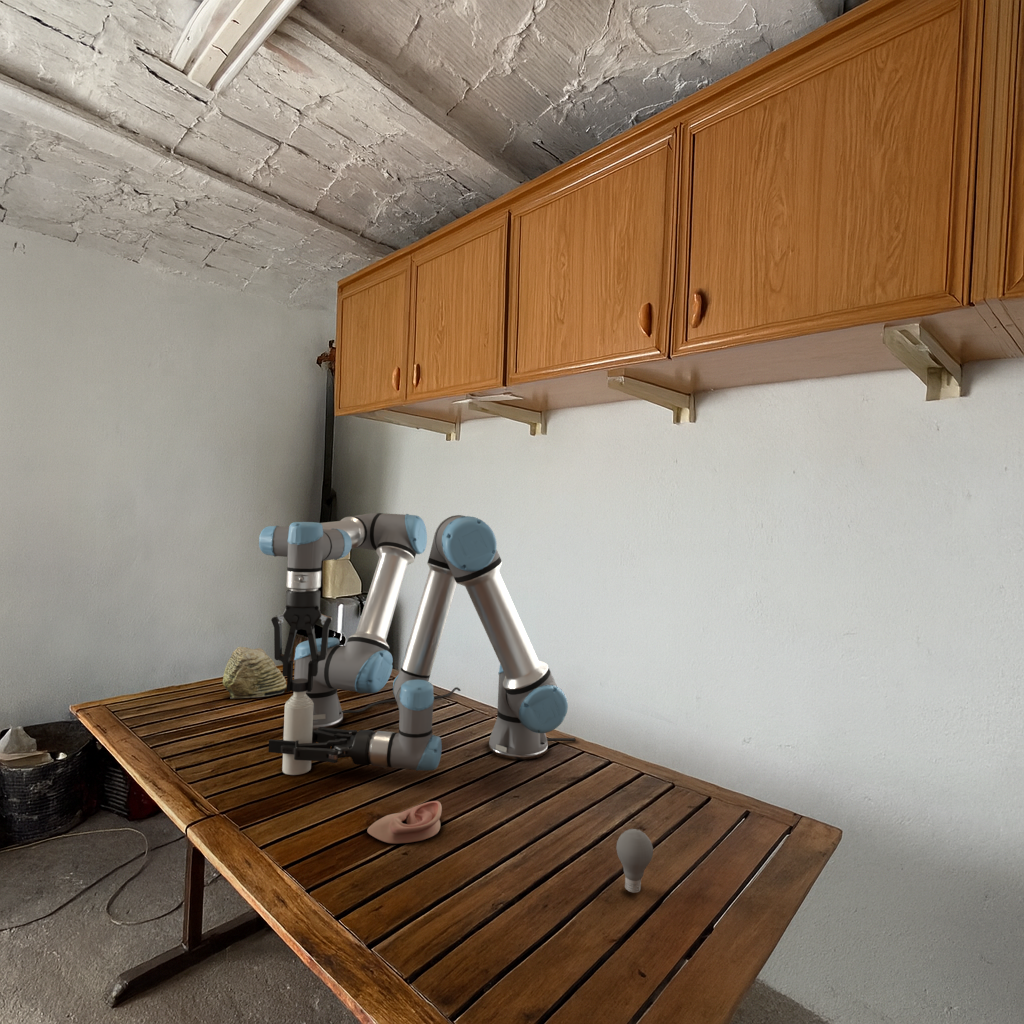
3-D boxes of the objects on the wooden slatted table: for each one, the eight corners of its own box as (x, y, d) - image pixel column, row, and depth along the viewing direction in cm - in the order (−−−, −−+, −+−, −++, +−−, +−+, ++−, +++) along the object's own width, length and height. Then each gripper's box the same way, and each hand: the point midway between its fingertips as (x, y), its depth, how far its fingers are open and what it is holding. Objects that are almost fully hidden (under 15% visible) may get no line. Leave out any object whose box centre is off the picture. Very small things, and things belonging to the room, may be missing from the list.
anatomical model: (360, 817, 118) (385, 790, 129) (359, 839, 118) (384, 809, 129) (428, 828, 115) (447, 799, 126) (427, 850, 115) (446, 819, 126)
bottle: (303, 776, 143) (306, 688, 143) (277, 773, 144) (280, 686, 144) (315, 765, 149) (319, 680, 149) (290, 762, 150) (293, 678, 150)
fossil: (218, 695, 195) (220, 647, 195) (278, 685, 208) (279, 640, 207) (228, 703, 189) (230, 653, 188) (289, 692, 201) (290, 645, 201)
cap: (288, 688, 147) (289, 679, 147) (306, 686, 149) (306, 677, 149) (292, 693, 143) (293, 684, 143) (310, 690, 146) (311, 682, 146)
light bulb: (610, 879, 108) (613, 822, 108) (644, 879, 109) (647, 822, 109) (619, 902, 102) (622, 840, 102) (655, 901, 103) (658, 840, 103)
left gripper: (261, 590, 141) (257, 695, 141) (339, 592, 143) (335, 694, 144) (268, 586, 148) (264, 685, 149) (343, 587, 151) (339, 685, 151)
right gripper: (358, 783, 135) (255, 773, 137) (385, 748, 154) (294, 740, 157) (359, 748, 135) (256, 739, 137) (386, 717, 154) (295, 710, 157)
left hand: (299, 689), depth 146 cm, fingers closed on cap, 4 cm apart
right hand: (276, 739), depth 147 cm, fingers closed on bottle, 6 cm apart
